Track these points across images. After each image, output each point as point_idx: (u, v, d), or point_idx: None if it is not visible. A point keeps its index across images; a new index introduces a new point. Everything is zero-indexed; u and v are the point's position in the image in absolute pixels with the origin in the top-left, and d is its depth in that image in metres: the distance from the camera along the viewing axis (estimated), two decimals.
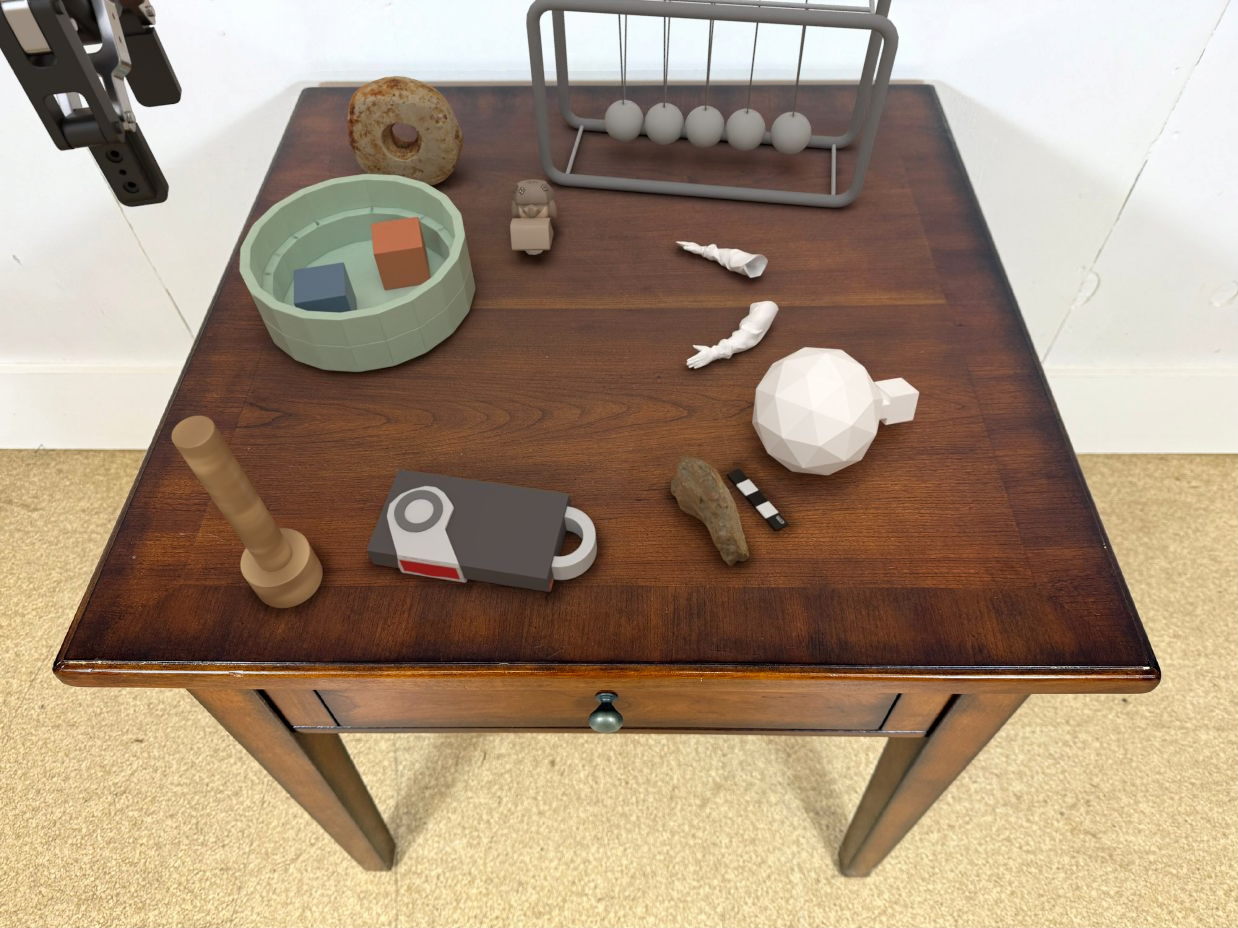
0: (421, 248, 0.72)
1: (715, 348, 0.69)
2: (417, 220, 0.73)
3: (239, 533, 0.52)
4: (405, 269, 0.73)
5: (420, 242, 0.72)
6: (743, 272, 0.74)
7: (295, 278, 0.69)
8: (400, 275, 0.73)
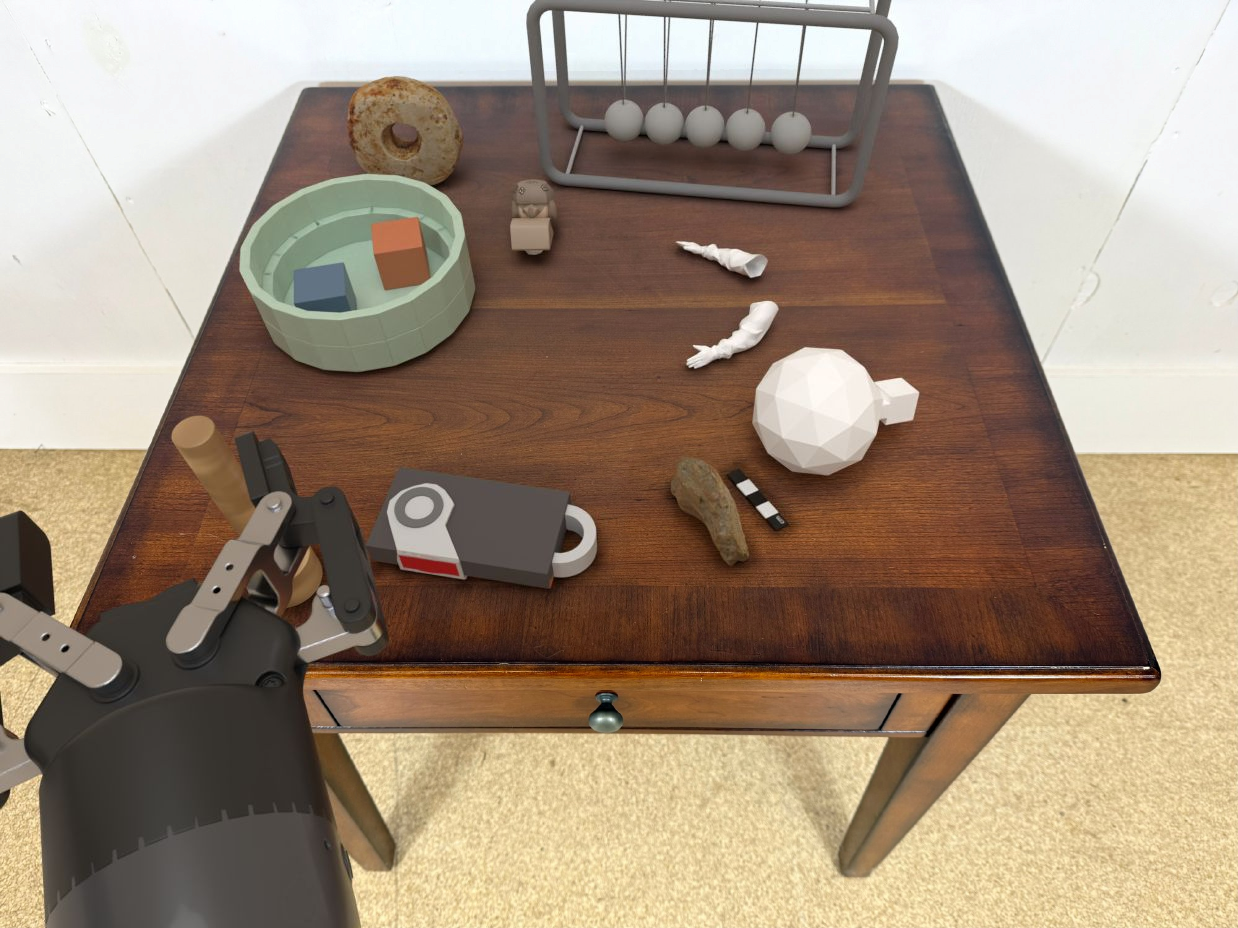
0: (421, 248, 0.72)
1: (715, 348, 0.69)
2: (417, 220, 0.73)
3: (239, 533, 0.52)
4: (405, 269, 0.73)
5: (420, 242, 0.72)
6: (743, 272, 0.74)
7: (295, 278, 0.69)
8: (400, 275, 0.73)
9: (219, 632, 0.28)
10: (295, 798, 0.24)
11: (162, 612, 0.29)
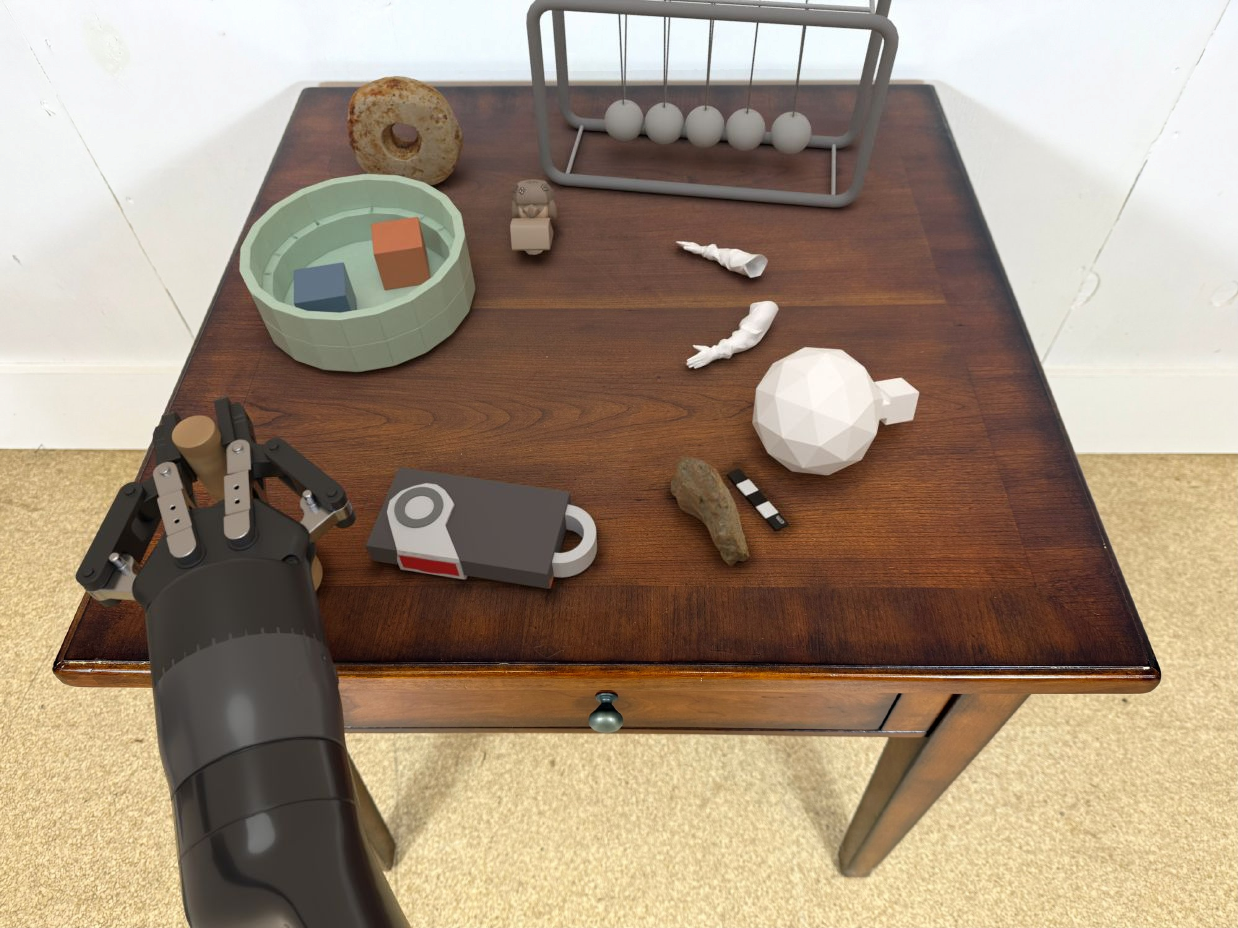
0: (421, 248, 0.72)
1: (715, 348, 0.69)
2: (417, 220, 0.73)
3: None
4: (405, 269, 0.73)
5: (420, 242, 0.72)
6: (743, 272, 0.74)
7: (295, 278, 0.69)
8: (400, 275, 0.73)
9: (253, 523, 0.43)
10: (305, 628, 0.39)
11: (220, 514, 0.44)
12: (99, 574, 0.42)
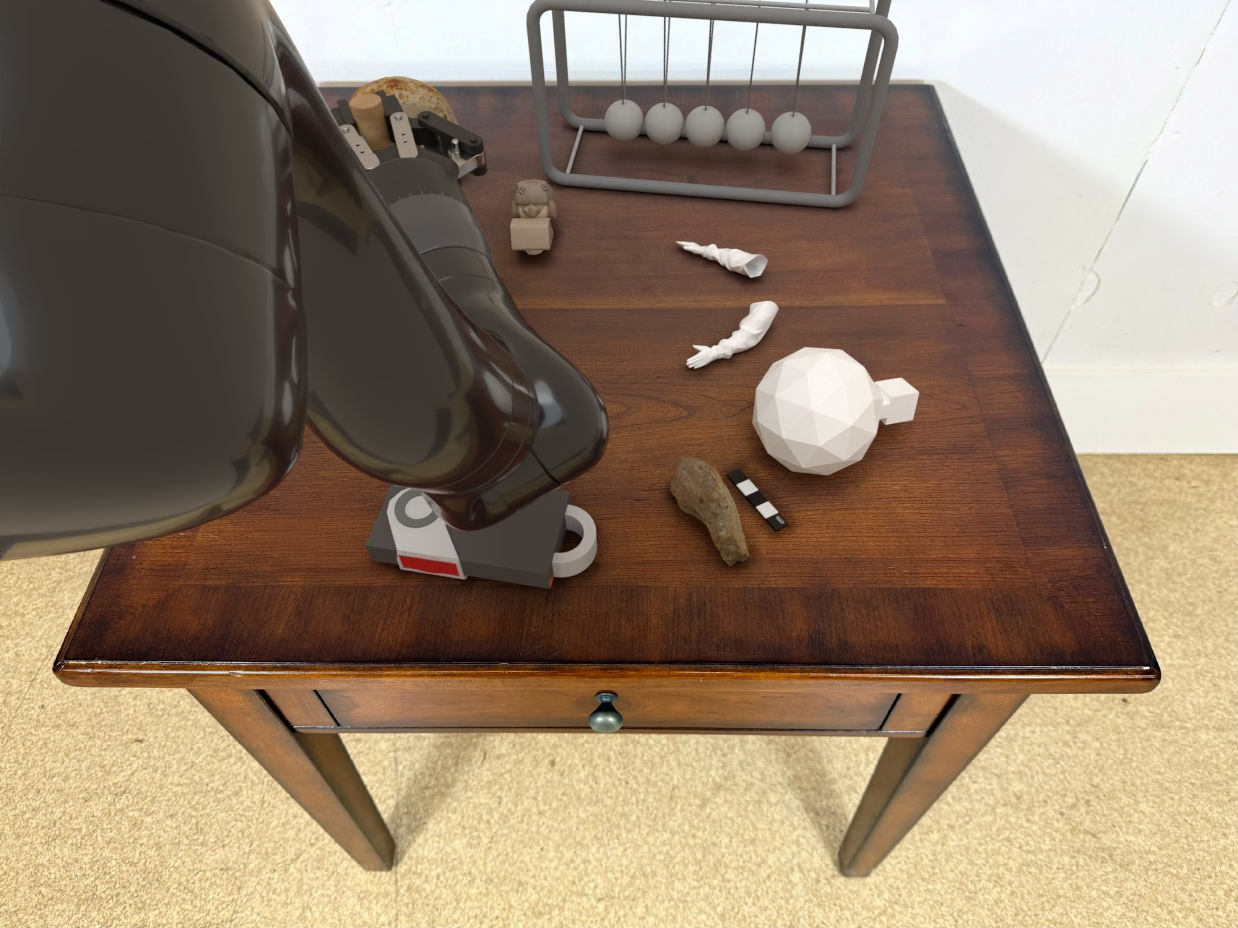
0: None
1: (715, 348, 0.69)
2: None
3: None
4: None
5: None
6: (743, 272, 0.74)
7: None
8: None
9: (418, 155, 0.58)
10: (467, 205, 0.54)
11: (391, 153, 0.59)
12: None
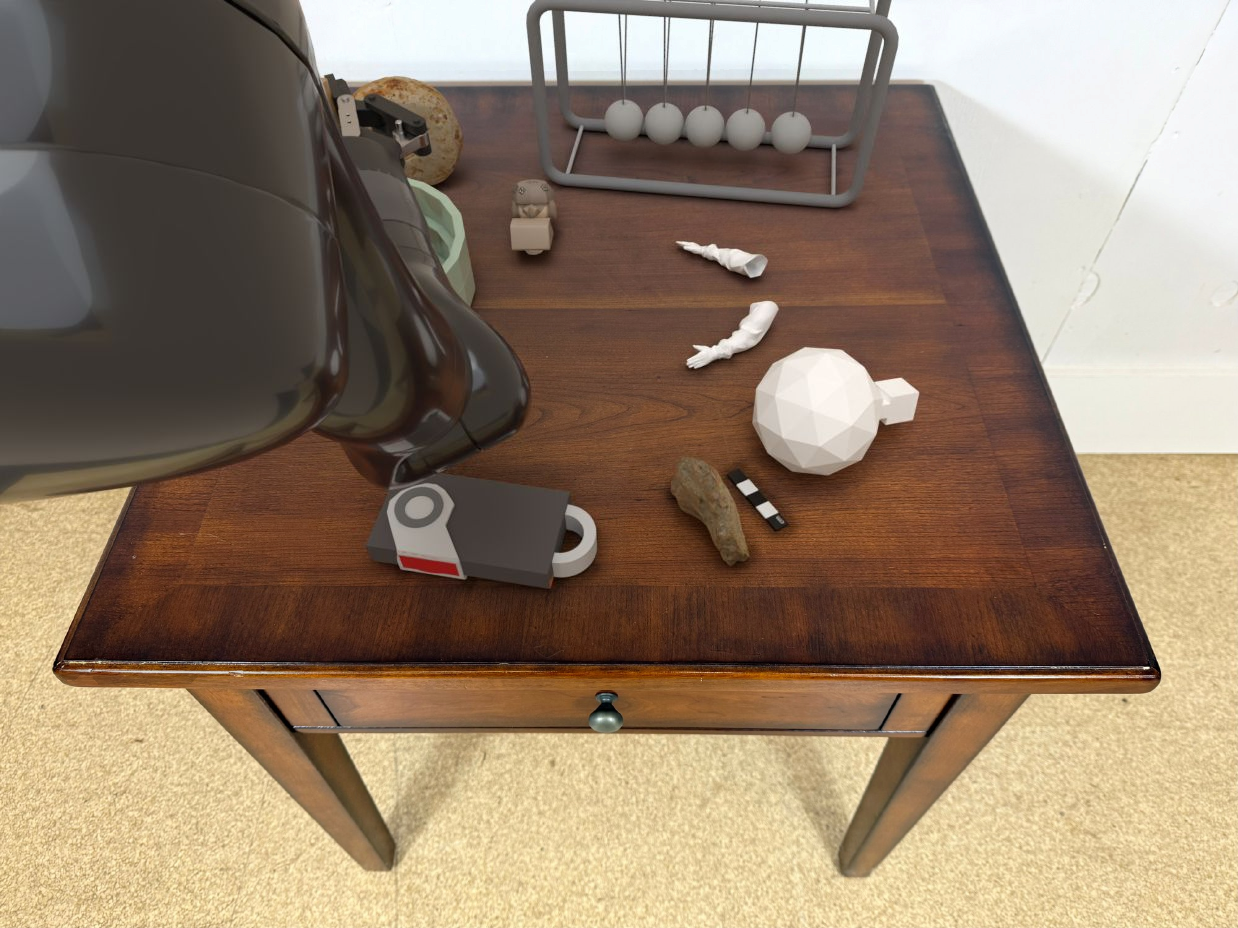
0: None
1: (715, 348, 0.69)
2: None
3: None
4: None
5: None
6: (743, 272, 0.74)
7: None
8: None
9: (361, 135, 0.60)
10: (405, 182, 0.56)
11: None
12: None
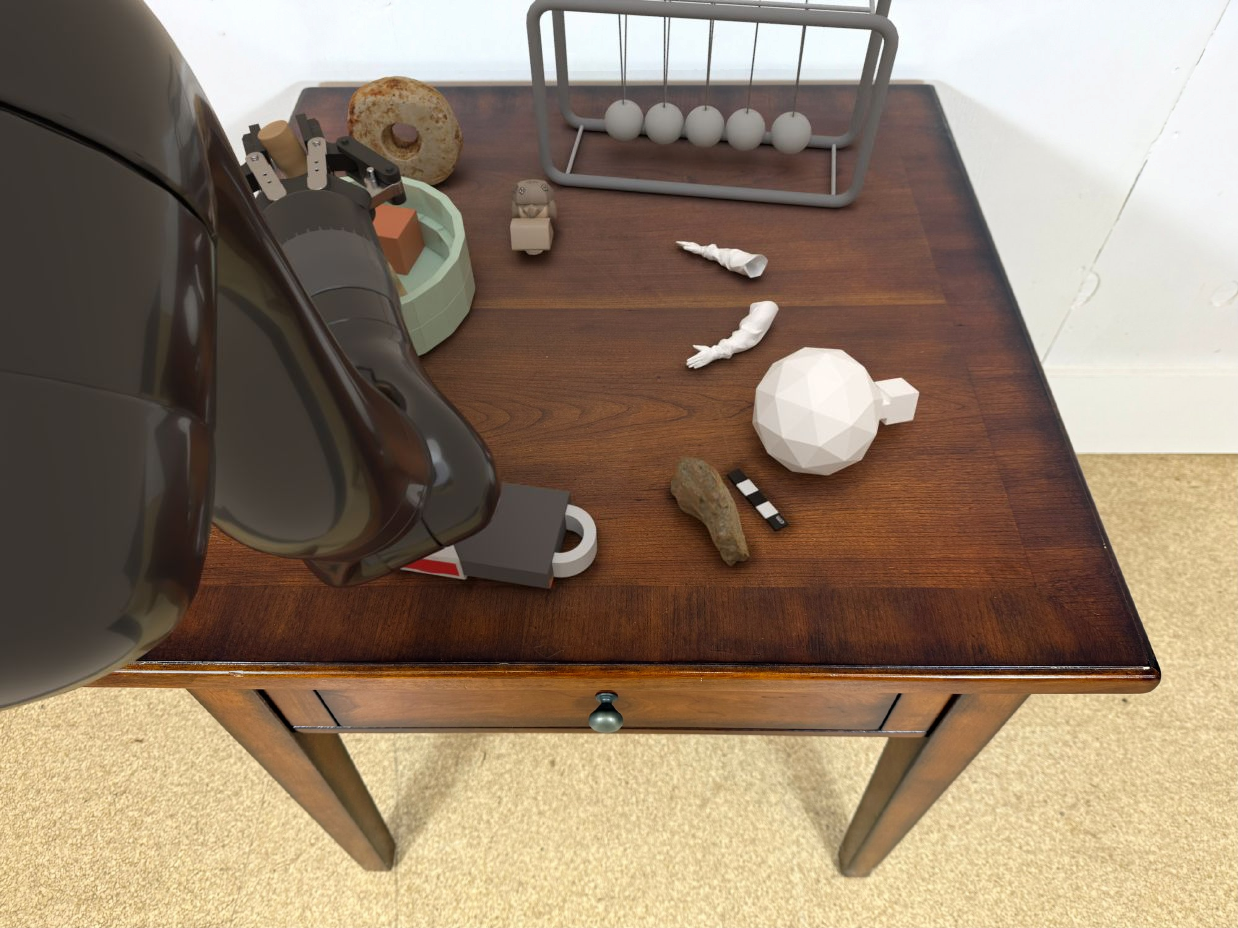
0: (396, 240, 0.72)
1: (715, 348, 0.69)
2: (412, 213, 0.74)
3: None
4: None
5: (398, 234, 0.72)
6: (743, 272, 0.74)
7: None
8: None
9: (329, 185, 0.56)
10: (372, 240, 0.52)
11: (302, 181, 0.56)
12: None
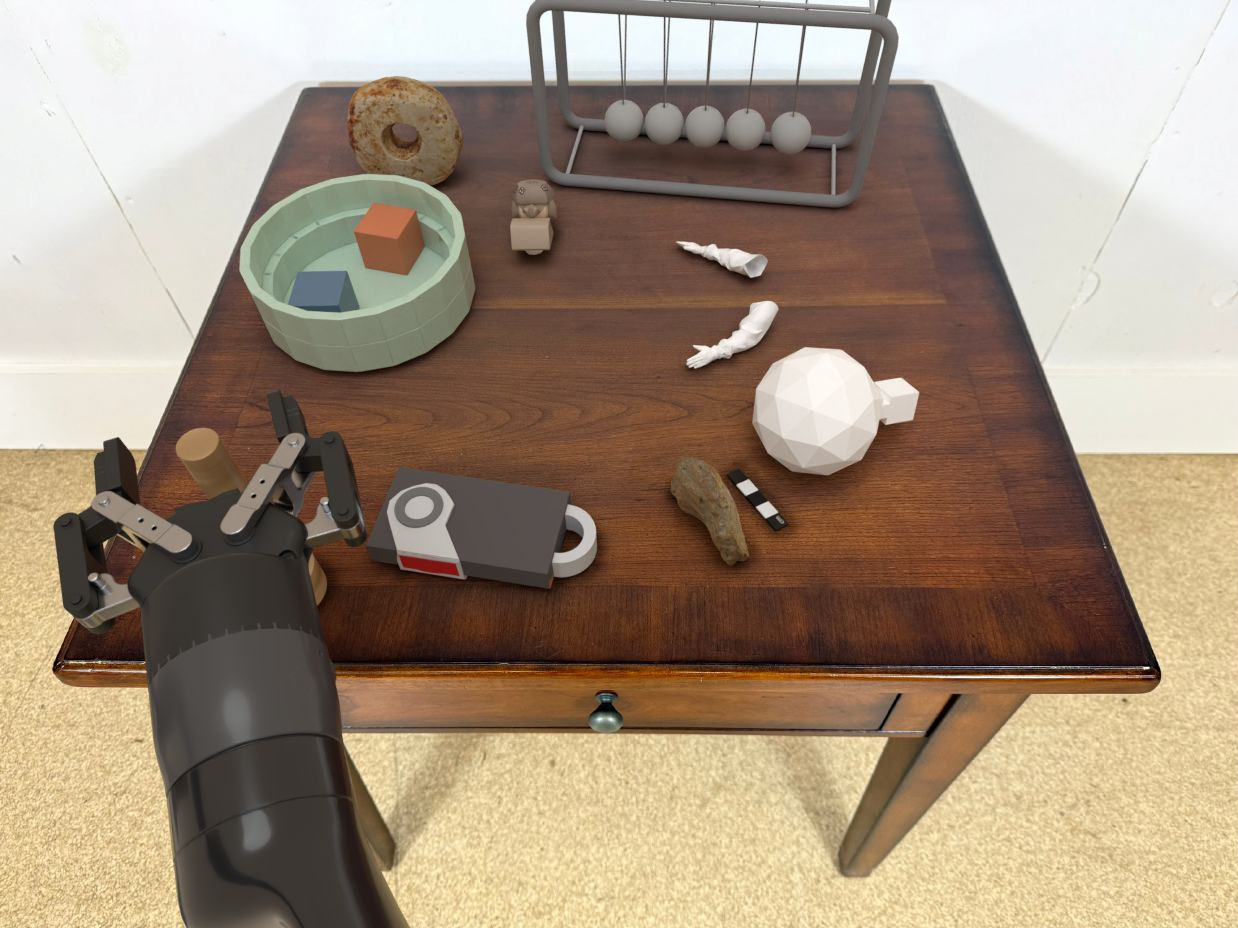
0: (396, 240, 0.72)
1: (715, 348, 0.69)
2: (412, 213, 0.74)
3: None
4: (382, 255, 0.74)
5: (398, 234, 0.72)
6: (743, 272, 0.74)
7: (296, 280, 0.69)
8: (378, 259, 0.75)
9: (254, 523, 0.43)
10: (302, 624, 0.39)
11: (216, 509, 0.43)
12: (89, 595, 0.40)
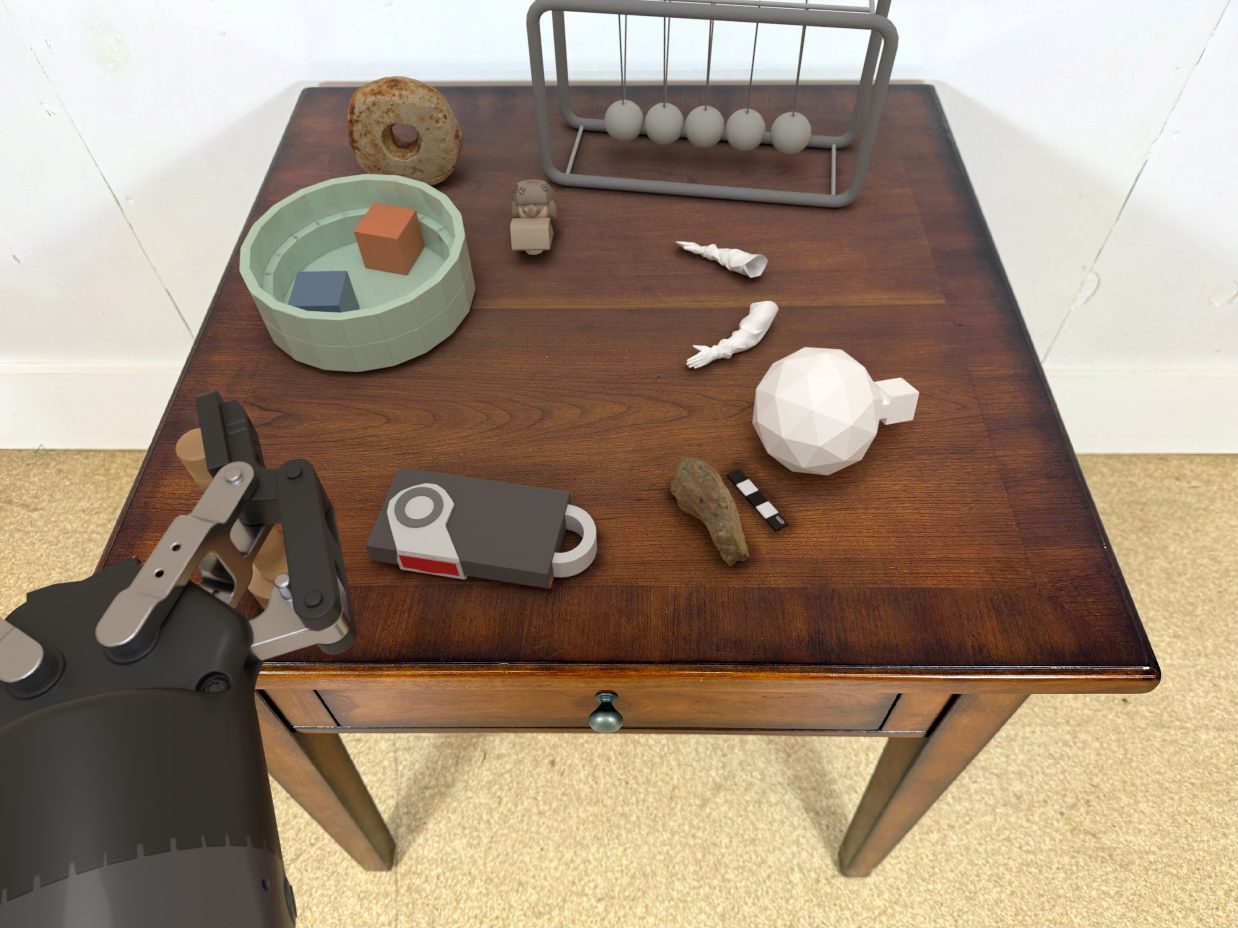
0: (396, 240, 0.72)
1: (715, 348, 0.69)
2: (412, 213, 0.74)
3: None
4: (382, 255, 0.74)
5: (398, 234, 0.72)
6: (743, 272, 0.74)
7: (296, 280, 0.69)
8: (378, 259, 0.75)
9: (159, 623, 0.24)
10: (230, 828, 0.21)
11: (97, 595, 0.25)
12: None
